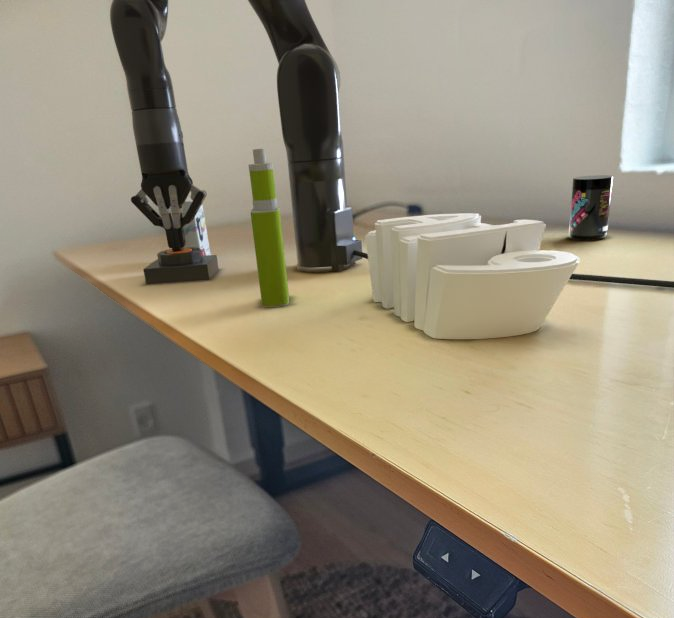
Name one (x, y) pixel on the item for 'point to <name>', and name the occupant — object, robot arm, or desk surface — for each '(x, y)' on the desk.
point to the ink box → (196, 230)
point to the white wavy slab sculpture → (466, 274)
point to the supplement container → (590, 207)
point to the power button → (179, 251)
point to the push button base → (181, 267)
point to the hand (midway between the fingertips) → (178, 250)
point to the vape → (267, 233)
